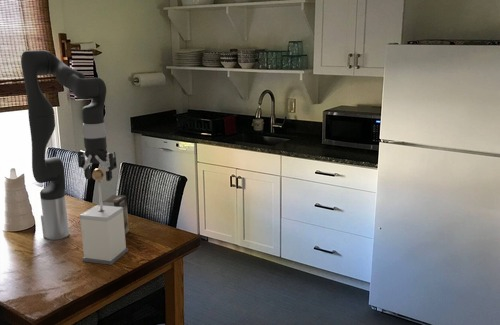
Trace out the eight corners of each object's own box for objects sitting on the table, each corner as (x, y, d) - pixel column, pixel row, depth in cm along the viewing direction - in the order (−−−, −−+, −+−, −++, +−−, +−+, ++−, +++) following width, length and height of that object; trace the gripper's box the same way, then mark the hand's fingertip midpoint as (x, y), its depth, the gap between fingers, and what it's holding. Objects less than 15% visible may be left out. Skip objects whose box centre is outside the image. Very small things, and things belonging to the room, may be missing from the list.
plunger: (94, 222, 172) (88, 169, 167) (100, 218, 177) (95, 166, 171) (104, 223, 171) (99, 170, 166) (111, 219, 175) (106, 167, 170)
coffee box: (119, 239, 192) (116, 202, 188) (105, 238, 193) (101, 201, 189) (129, 231, 200) (126, 195, 196) (115, 230, 202) (112, 194, 198)
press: (82, 261, 173) (77, 215, 169) (104, 244, 187) (100, 201, 183) (111, 264, 170) (107, 218, 166) (131, 247, 184) (128, 204, 180)
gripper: (70, 136, 164) (75, 181, 168) (107, 138, 161) (110, 184, 165) (83, 132, 171) (87, 175, 175) (118, 134, 168) (121, 178, 172)
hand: (98, 179), depth 170 cm, fingers open, 8 cm apart
